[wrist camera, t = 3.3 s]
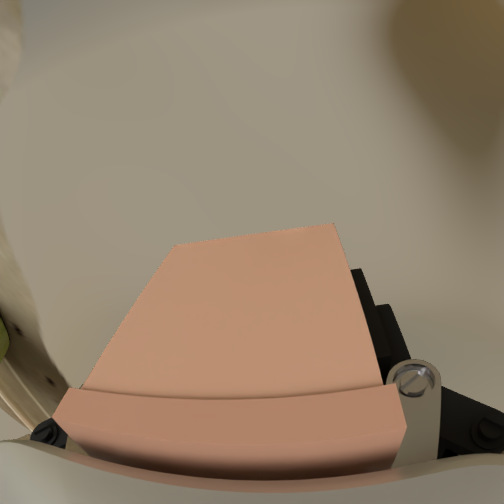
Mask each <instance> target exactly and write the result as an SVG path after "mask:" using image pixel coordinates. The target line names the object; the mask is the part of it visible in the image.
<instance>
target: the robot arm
mask: <svg viewBox="0 0 504 504" xmlns="http://www.w3.org/2000/svg"><path fill="white" fill-rule="evenodd" d="M350 271H351V274H352V277H353V281H354V284H355V287H356V290H357V293H358V296H359V299H360V303H361V306H362V309H363V312H364V316H365V319H366V322H367V326H368V329H369V333H370V336H371V340H372V343H373V347H374V351H375V354H376V358H377V362H378V366H379V370H380V373H381V377H382V381H383V385H388V384H394V383H396V386H397V390H398V394H399V397H400V401H401V405H402V409H403V413H404V417H405V421H406V425H407V429H406V432H405V434H404V437H403V440H402V443H401V445H400V448H399V450H398V453H397V455H396V458H395V460H394V463H393V465H392V467H391V469H388V470H383V471H377V472H370V473H363V474H356V475H348V476H339V477H330V478H319V479H305V480H279V481H255V480H227V479H213V478H202V477H192V476H184V475H176V474H169V473H162V472H156V471H151V470H145V469H140V468H135V467H130V466H125V465H121V464H116V463H112V462H108V461H104V460H100V459H96V458H93V457H90V456H89V455H88V454H87V453H86V452H85V451H84V450H83V449H82V448H81V447H80V446H79V445H78V444H77V443H76V442H75V441H74V440H73V439H72V438H71V437H70V436H69V435H68V434H67V433H66V432H65V431H64V430H63V429H62V428H61V427H60V426H59V425H58V424H57V422H56V421H55V420H54V419H53V418H52V417H51V418H50V419H48V420H46V421H44V422H42V423H40V424H39V425H38V426H37V427H36V428H35V429H34V430H33V432H32V434H31V435H30V434H28V435H25V436H23V437H20V438H18V439H13V440H3V441H0V504H504V413H502V412H501V411H498V410H496V409H494V408H492V407H490V406H487V405H485V404H482V403H480V402H478V401H475V400H473V399H470V398H468V397H466V396H463V395H461V394H458V393H457V392H454V391H452V390H450V389H447V388H445V387H443V386H441V377H440V373H439V372H438V370H437V369H436V368H435V367H434V366H433V365H432V364H430V363H428V362H426V361H423V360H417V359H413V360H411V357H410V355H409V352H408V349H407V346H406V344H405V341H404V338H403V336H402V333H401V331H400V328H399V326H398V324H397V321H396V319H395V316H394V313H393V311H392V309H391V307H390V305H389V304H384V305H377V306H375V304H374V301H373V298H372V296H371V293H370V290H369V288H368V285H367V282H366V280H365V277H364V275H363V272H362V270H361V269H353V270H350ZM83 385H84V384H83ZM83 385H82V386H83ZM82 386H81V387H80V388H79V389H81V388H82Z"/></svg>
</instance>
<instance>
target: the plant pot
mask: <svg viewBox="0 0 504 504" xmlns="http://www.w3.org/2000/svg"><path fill="white" fill-rule="evenodd" d="M8 347H9V337H8V333H7V331H6V328H5V326H4V324H3V322H2V320H1V318H0V363H1V361H2V359H3V357H4V355H5V354H6V352H7V349H8Z"/></svg>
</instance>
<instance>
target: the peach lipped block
mask: <svg viewBox="0 0 504 504" xmlns="http://www.w3.org/2000/svg"><path fill="white" fill-rule="evenodd" d="M52 418H53V419H54V420H55V421H56V422H57V424H58V425H59V426H60V427H61V428H62V429H63V430H64V431H65V432H66V433H67V434H68V435H69V436H70V437H71V438H72V439H73V440H74V441H75V442H76V443H77V444H78V445H79V446H80V447H81V448H82V449H83V450H84V451H85V452H86V453H87V454H88V455H89V456H90V457H93V458H96V459H100V460H104V461H108V462H112V463H116V464H121V465H125V466H130V467H135V468H140V469H145V470H151V471H156V472H162V473H169V474H176V475H184V476H192V477H202V478H213V479H227V480H255V481H279V480H305V479H319V478H330V477H339V476H348V475H356V474H363V473H370V472H377V471H383V470H388V469H391V467H392V465H393V463H394V460H395V458H396V455H397V453H398V450H399V448H400V445H401V443H402V440H403V437H404V434H405V432H406V429H407V425H406V421H405V417H404V413H403V409H402V405H401V401H400V397H399V394H398V390H397V386H396V383H394V384H388V385H383V381H382V377H381V373H380V370H379V366H378V362H377V358H376V354H375V351H374V347H373V343H372V340H371V336H370V333H369V329H368V326H367V322H366V319H365V316H364V312H363V309H362V306H361V303H360V299H359V296H358V293H357V290H356V287H355V284H354V281H353V277H352V274H351V271H350V268H349V266H348V263H347V260H346V257H345V254H344V251H343V248H342V246H341V242H340V240H339V237H338V234H337V231H336V229H335V226H334V223H331V224H323V225H316V226H308V227H300V228H292V229H285V230H278V231H270V232H263V233H256V234H248V235H241V236H234V237H228V238H220V239H213V240H207V241H199V242H192V243H186V244H180V245H174V247H173V248H172V250H171V251H170V252H169V254H168V255H167V257H166V258H165V259H164V261H163V262H162V264H161V265H160V267H159V268H158V270H157V271H156V272H155V274H154V275H153V277H152V278H151V280H150V281H149V283H148V284H147V285H146V287H145V288H144V290H143V291H142V293H141V295H140V296H139V297H138V299H137V300H136V302H135V303H134V305H133V306H132V308H131V309H130V311H129V312H128V314H127V315H126V317H125V319H124V320H123V322H122V323H121V325H120V326H119V328H118V330H117V331H116V333H115V334H114V336H113V337H112V339H111V340H110V342H109V343H108V345H107V347H106V348H105V350H104V352H103V353H102V355H101V356H100V358H99V360H98V361H97V363H96V365H95V366H94V368H93V370H92V371H91V373H90V375H89V376H88V378H87V380H86V381H85V383H84V385H83V386H82V388H81V389H76V388H70V387H69V389H68V390H67V392H66V394H65V395H64V397H63V399H62V400H61V402H60V404H59V405H58V407H57V409H56V411H55V412H54V414H53V416H52Z"/></svg>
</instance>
